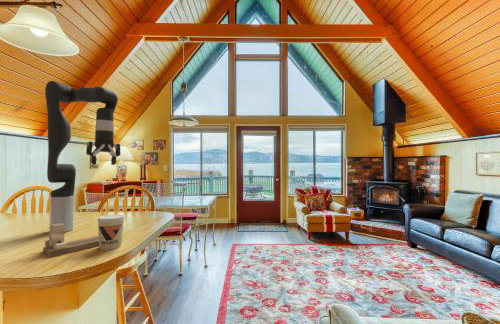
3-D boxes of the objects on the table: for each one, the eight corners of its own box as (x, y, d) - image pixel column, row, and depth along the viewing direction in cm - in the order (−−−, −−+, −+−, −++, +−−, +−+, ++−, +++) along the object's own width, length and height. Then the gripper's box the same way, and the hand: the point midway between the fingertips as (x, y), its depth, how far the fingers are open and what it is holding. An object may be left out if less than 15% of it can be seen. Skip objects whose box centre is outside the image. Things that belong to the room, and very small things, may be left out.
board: (42, 252, 91) (43, 247, 91) (100, 239, 107) (100, 235, 107) (50, 257, 86) (50, 251, 86) (109, 243, 103) (109, 238, 103)
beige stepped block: (44, 249, 93) (45, 224, 93) (60, 246, 97) (60, 222, 97) (54, 254, 88) (54, 227, 88) (69, 251, 92) (70, 225, 92)
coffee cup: (94, 251, 92) (95, 219, 93) (99, 244, 101) (99, 215, 101) (122, 248, 96) (123, 218, 96) (124, 242, 105) (125, 213, 105)
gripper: (115, 133, 124) (115, 165, 123) (84, 129, 112) (83, 164, 112) (123, 131, 120) (123, 165, 119) (91, 127, 108) (90, 164, 107)
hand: (103, 164), depth 115 cm, fingers open, 8 cm apart
